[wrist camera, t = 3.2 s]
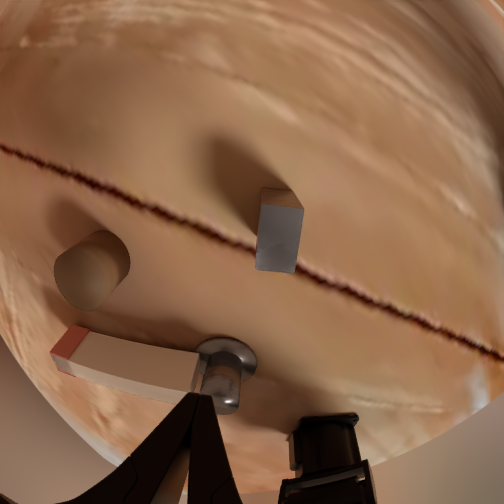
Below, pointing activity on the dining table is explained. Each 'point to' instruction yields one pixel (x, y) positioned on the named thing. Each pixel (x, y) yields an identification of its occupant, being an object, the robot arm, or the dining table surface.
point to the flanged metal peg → (225, 371)
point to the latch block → (278, 231)
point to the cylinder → (92, 270)
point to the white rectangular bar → (127, 365)
